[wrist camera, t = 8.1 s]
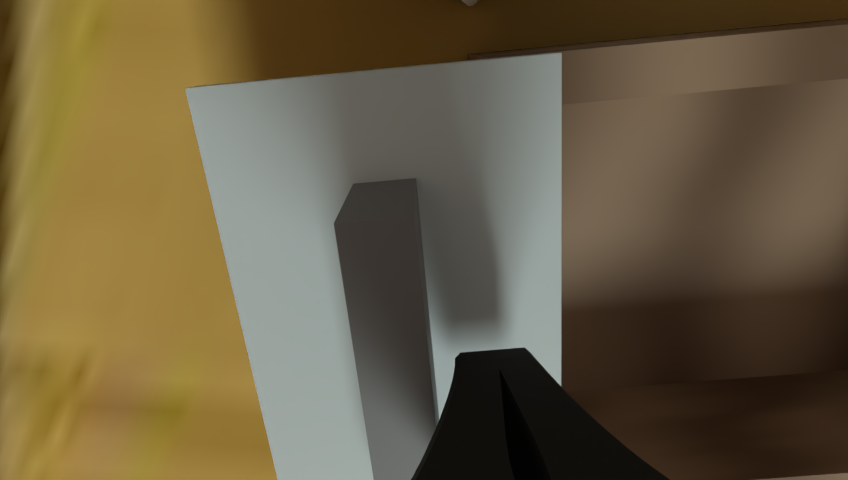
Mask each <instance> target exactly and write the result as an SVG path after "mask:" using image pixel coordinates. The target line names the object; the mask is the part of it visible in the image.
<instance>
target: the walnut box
mask: <svg viewBox="0 0 848 480" xmlns="http://www.w3.org/2000/svg"><path fill="white" fill-rule="evenodd" d="M543 53H562V211H561V387H562V388H563V389H564V390H565V391H566V392H567V393H568V394H569V395H570V396H571V397H572V398H573V399H574V400H575V401H576V402H577V403H578V404H579V405H580V406H581V407H583V408H584V409H585V410H586V411H587V412H588V413H589V414H590V415H591V416H592V417H593V418H594V419H595V420H596V421H597V422H598V423H600V424H601V425H602V426H603V427H604V428H605V429H606V430H607V431H608V432H610V433H611V434H612V435H613V436H614V437H616V438H617V439H618V440H619V441H620V442H621V443H623V444H624V445H625V446H626V447H627V448H628V449H630V450H631V451H632V452H633V453H635V454H636V455H637V456H638V457H640V458H641V459H642V460H643V461H645V462H646V463H648V464H649V465H650V466H652V467H653V468H655V469H656V470H657V471H659V472H660V473H661V474H663V475H664V476H666V477H667V478H668V479H670V480H848V19H837V20H827V21H816V22H805V23H795V24H784V25H774V26H763V27H752V28H742V29H731V30H721V31H710V32H699V33H689V34H678V35H668V36H657V37H646V38H636V39H625V40H615V41H604V42H593V43H583V44H572V45H562V46H551V47H540V48H530V49H519V50H509V51H498V52H487V53H477V54H468V60H479V59H490V58H500V57H511V56H522V55H532V54H543Z"/></svg>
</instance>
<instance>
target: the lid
mask: <svg viewBox="0 0 848 480" xmlns="http://www.w3.org/2000/svg"><path fill="white" fill-rule="evenodd" d="M185 90H186V95H187V99H188V103H189V107H190V112H191V116H192V120H193V124H194V128H195V133H196V137H197V141H198V145H199V150H200V154H201V158H202V162H203V166H204V171H205V175H206V179H207V183H208V188H209V192H210V196H211V200H212V204H213V209H214V213H215V217H216V221H217V225H218V230H219V234H220V238H221V242H222V247H223V251H224V255H225V259H226V263H227V268H228V272H229V276H230V280H231V285H232V289H233V293H234V297H235V301H236V306H237V310H238V314H239V318H240V323H241V327H242V331H243V335H244V339H245V344H246V348H247V352H248V356H249V361H250V365H251V369H252V373H253V377H254V382H255V386H256V390H257V394H258V399H259V403H260V407H261V411H262V415H263V420H264V424H265V428H266V432H267V436H268V441H269V445H270V449H271V453H272V458H273V462H274V466H275V470H276V474H277V479H278V480H411V479H412V477H413V475H414V473H415V471H416V469H417V467H418V466H419V464H420V462H421V460H422V458H423V455H424V453H425V451H426V449H427V447H428V445H429V442H430V440H431V438H432V436H433V434H434V431H435V429H436V427H437V424H438V422H439V419H440V416H441V414H442V411H443V408H444V405H445V403H446V400H447V397H448V394H449V390H450V387H451V383H452V379H453V374H454V368H455V358H456V357H457V356H458V354H459V353H460V352H473V351H486V350H498V349H511V348H524V347H525V348H526V349H527V350H528V351H529V352H531V354H532V355H533V356H534V357H535V358H536V359H537V361H538V362H539V363H540V364H541V365H542V366H543V367H544V369H545V370H546V371H547V372H548V373H549V374H550V375H551V376H552V377H553V378H554V379H555V380H556V381H557V383H558V384H559V385H560V386H561V211H562V53H543V54H532V55H522V56H511V57H500V58H490V59H479V60H468V61H458V62H447V63H437V64H426V65H415V66H405V67H394V68H383V69H373V70H362V71H352V72H341V73H330V74H320V75H309V76H298V77H288V78H277V79H266V80H256V81H245V82H235V83H224V84H213V85H203V86H195V87H189V88H185Z"/></svg>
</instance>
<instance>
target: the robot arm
mask: <svg viewBox="0 0 848 480" xmlns="http://www.w3.org/2000/svg"><path fill="white" fill-rule="evenodd" d="M411 480H670V479H668V478H667V477H666V476H664V475H663V474H661V473H660V472H659V471H657V470H656V469H655V468H653V467H652V466H650V465H649V464H648V463H646V462H645V461H643V460H642V459H641V458H640V457H638V456H637V455H636V454H635V453H633V452H632V451H631V450H630V449H628V448H627V447H626V446H625V445H624V444H623V443H621V442H620V441H619V440H618V439H617V438H616V437H614V436H613V435H612V434H611V433H610V432H608V431H607V430H606V429H605V428H604V427H603V426H602V425H601V424H600V423H598V422H597V421H596V420H595V419H594V418H593V417H592V416H591V415H590V414H589V413H588V412H587V411H586V410H585V409H584V408H583V407H581V406H580V405H579V404H578V403H577V402H576V401H575V400H574V399H573V398H572V397H571V396H570V395H569V394H568V393H567V392H566V391H565V390H564V389H563V388H562V387H561V386H560V385H559V384H558V383H557V381H556V380H555V379H554V378H553V377H552V376H551V375H550V374H549V373H548V372H547V371H546V370H545V369H544V367H543V366H542V365H541V364H540V363H539V362H538V361H537V359H536V358H535V357H534V356H533V355H532V354H531V352H529V351H528V350H527V349H526V348H525V347H524V348H511V349H498V350H486V351H473V352H460V353H459V354H458V356H457V357H456V358H455V368H454V374H453V379H452V383H451V387H450V390H449V394H448V397H447V400H446V403H445V405H444V408H443V411H442V414H441V416H440V419H439V422H438V424H437V427H436V429H435V431H434V434H433V436H432V438H431V440H430V442H429V445H428V447H427V449H426V451H425V453H424V455H423V458H422V460H421V462H420V464H419V466H418V467H417V469H416V471H415V473H414V475H413V477H412V479H411Z"/></svg>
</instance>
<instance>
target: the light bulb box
mask: <svg viewBox="0 0 848 480" xmlns="http://www.w3.org/2000/svg"><path fill="white" fill-rule="evenodd" d="M461 1H462V2H464V3H465V4H467V5H468V6H473V5H474V4H475V3H477V2H478V1H479V0H461Z"/></svg>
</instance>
